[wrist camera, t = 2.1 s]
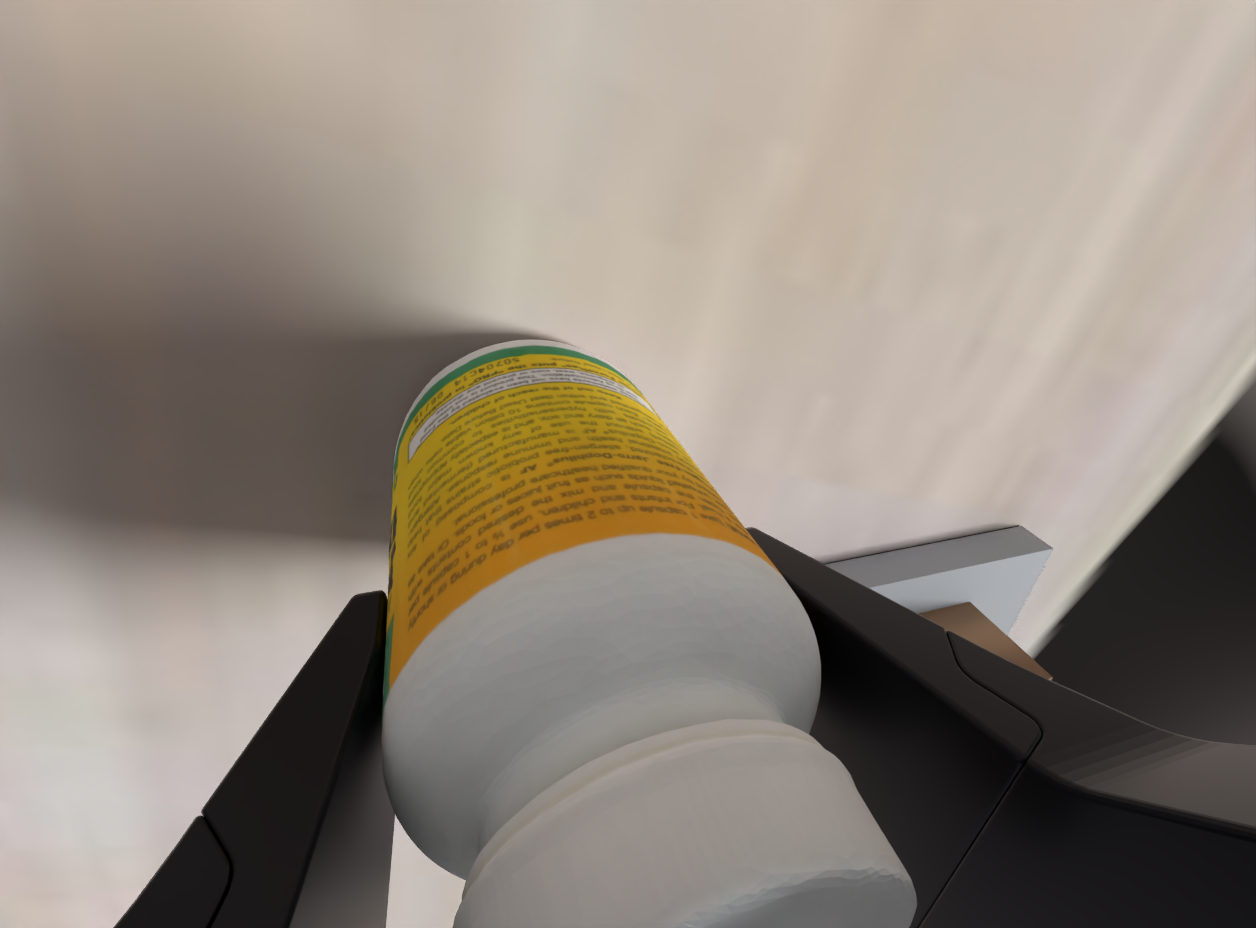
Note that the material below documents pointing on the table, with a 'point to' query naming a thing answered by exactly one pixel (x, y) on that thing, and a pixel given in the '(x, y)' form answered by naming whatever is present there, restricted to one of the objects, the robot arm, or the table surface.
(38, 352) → the table surface
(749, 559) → the supplement bottle
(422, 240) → the table surface
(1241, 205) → the table surface
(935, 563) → the board
